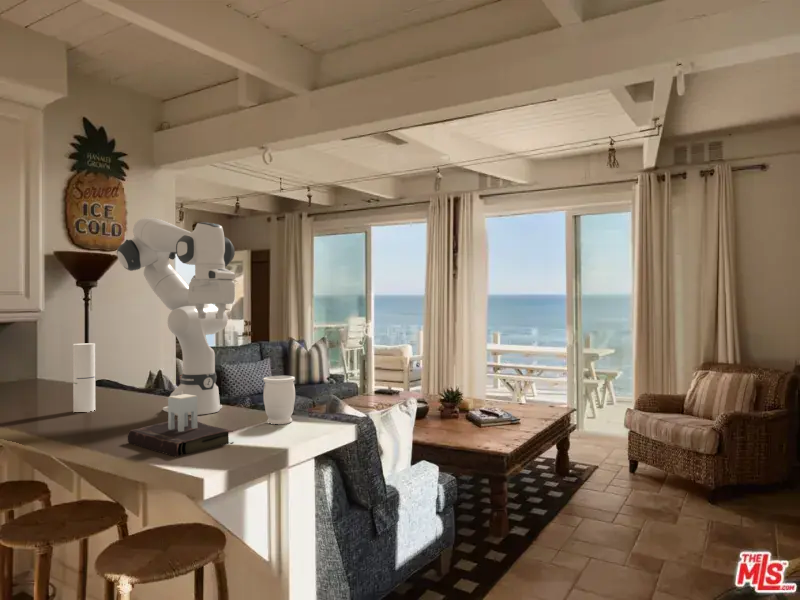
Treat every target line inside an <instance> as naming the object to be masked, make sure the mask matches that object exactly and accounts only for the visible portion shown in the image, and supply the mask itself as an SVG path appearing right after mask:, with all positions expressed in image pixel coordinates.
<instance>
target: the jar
mask: <svg viewBox="0 0 800 600" xmlns="http://www.w3.org/2000/svg"><path fill="white" fill-rule="evenodd" d="M294 381H296V376H292V375H272V376H266V377H263V382H264V387H263V394H262V395H263V404H264V409H265V414H266V416H267V420H266V423H267V422H269V423H272V424H271V425H275V424H278V425H286V424H290V423H292V422H293V418H292V417H291V416H292V415H293V412H294V408H295V401H296V388H295V384H294ZM269 423H268V424H269Z"/></svg>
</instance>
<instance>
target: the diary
mask: <svg viewBox="0 0 800 600" xmlns="http://www.w3.org/2000/svg"><path fill="white" fill-rule="evenodd" d="M231 432H232V433H233V432H234V430H232V429H227V428H222V427H218V426H213V425H209V424H205V423H203V422H199V421H198V428H195V429H193V428H191V419H189V418H188V426H186V427H184V431H181V432H179V431H178V419H175V429H172V430H169V429H168V421H163V422H159V423H154V424H152V425H151V424H149V425H147V426H143V427H138V428H135V429H130V430H129V432H128V434H127V442H128V443H129V444H130V443H132V444H131V445H134V444H135V445H134V446H139V447H141V446H142V448H145V449H149V450H152V451H154V450H156V452H158V451H160V452H159V453H162V452H164V453H163V454H165V453H167V454H166V455H169V454H170V455H169V456H172V455H173V456H172V457H175V456H176V457H175V458H179V457H180V455H181V454H182V455H181V456H183V455H184V454H185V453H186V454H185V455H187V453H188V454H190V453H191V454H192V453H196V452H199V451H204V450H208V449H212V448H216V447H221V446H224V445H232V444H234V441H231V442H229V441H230V440H229V433H231ZM182 452H183V453H182ZM178 456H179V457H178Z"/></svg>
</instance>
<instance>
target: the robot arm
mask: <svg viewBox="0 0 800 600" xmlns="http://www.w3.org/2000/svg"><path fill="white" fill-rule="evenodd" d="M132 233H133V235H134V237H133V238H131V239H125V241H124V242H123V243H121V244H120V245H119V246H118V248H117V251H116V255H117V259H118V262H119V263H120V264H121V266H122V267H124V269H125V270H128V271H131V272H133V271H138V270H140V269H141V268H144V269H143V275H144V277H145V280H146V283H147V284H148V286H149V287H150V288H151V290H152V291H153V292H154V293H155V295H156V296H157V297H158V298H159V300H160V301H161V302H162V303H163V304H164V305H165V307H166V308H167V309H169V310H170V312H169V314H168V316H167V326H168V329H169V331H170V332H171V333H172V334H173V335H174V336H175V337H176V338H177V340H178V344H179V345H180V348H181V353H182V374H180V375H179V379H180V381H179V382H180V383H179V385H178V386H177V387H176V388H175V389H174V390H173V391H172V392H171V393H170V395H169V397H170V396H176V395H182V394H188V395H196V396H197V416H199V415H200V416H201V415H207V414H212V413H213V414H214V413H217V412H220V410H221V409H222V408H223V405H222V404H221V403H220V402H221V401H220V394H219V393H220V391H219V386H218V385H217V384H216V382H217V372H216V353H215V349H213V348H212V347H211V346H210V345H209V343H208V340H207V337H206V335H207V336H208V335H214V334H217V333H219V332H221V331H223V330H225V328H226V327H227V324H228V315H227V313H226V308H227V305H231V304H232V305H233V303H234V302H235V298H236V297H235V296H236V295H235V294H236V288H235V287H236V286H235V285H236V284H235V281H234V280H235V278H236V274H235V272H234V271H231V270H230V269H228V268H226V267H227V266H228V265H229V264H230V263H232V261H233V259H234V258H235V256H236V255H235V253H236V252H235V251H236V250H235V246H234V245H233V243H232V241H231V240H230V239H229V238H228V237H226V236H225V233H224V228H223V226H222V225H220V224H219V223H214V222H204V221H201V222H197V223H196V225H195V228H194V230H192V231H190V230H187V229H184V228H182V227H179V226H178V225H176V224H173V223H170V222H169V221H167V220H163V219H161V218H156V217H142V218H140V219H138V220H137V221H136V222H135V224H134V225H133V229H132ZM176 257H177V259H178V260H179V261H180V262H181V263H182V264H186V265H191V266H193V265H194V272H195V275H193V276H192V278H191V279H190V282H189V283H187V282H186V280H185V279H184V278H183V277H182V276H181V275H180V274H179V272H178V271H177V270H176V269H175V268H174V267H173V266H172V265H171V263H170V260H175V259H176ZM162 410H163V411H164V412H166V413H168V405H167V406H164V407H162ZM175 416H176V417H178V413H175ZM188 416H191V412H188Z"/></svg>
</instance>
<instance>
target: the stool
mask: <svg viewBox="0 0 800 600" xmlns="http://www.w3.org/2000/svg"><path fill="white" fill-rule="evenodd" d="M167 406H168V412H167V415H168V417H167V419H168V420H167V422H168V429H169V430H172V429H175V420H176V419H175V416H176V415H175V413H178V416H177V420H178V431H179V432H181V431H184V427H186V426H188V419H189V415H188V412H191V415H190V418H191V419H190V420H191V428H193V429H195V428H198V422H199V421H198V415H197V396H196V395H188V394H182V395H176V396H170V395H169V396H168V397H167Z"/></svg>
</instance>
